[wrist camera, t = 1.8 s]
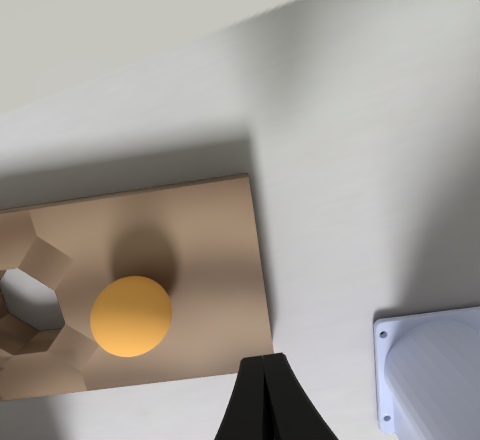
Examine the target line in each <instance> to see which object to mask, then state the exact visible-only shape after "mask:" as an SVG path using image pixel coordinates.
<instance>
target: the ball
mask: <svg viewBox="0 0 480 440" xmlns="http://www.w3.org/2000/svg"><path fill="white" fill-rule="evenodd" d="M171 320H172V305H171V301H170V298H169V296H168V294H167V292H166V291H165V290H164V288H163V287H162V286H161V285H160V284H158V283H157V282H155V281H154V280H152V279H149V278H146V277H142V276H129V277H124V278H121V279H118V280H116V281H114V282H113V283H111V284H110V285H108V286H107V287H106V288H105V289H104V290H103V291H102V292H101V293H100V294H99V296H98V297H97V299H96V300H95V302H94V304H93V307H92V311H91V315H90V326H91V331H92V334H93V336H94V338H95V340H96V342H97V343H98V344H99V345H100V346H101V347H102V348H103V349H104V350H105V351H107V352H109V353H111V354H113V355H116V356H121V357H133V356H138V355H141V354H144V353H146V352H148V351H150V350H151V349H153V348H154V347H155V346H156V345H158V344H159V343H160V342H161V340H162V339H163V338H164V337H165V335H166V333H167V331H168V329H169V327H170V324H171Z"/></svg>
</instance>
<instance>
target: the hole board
mask: <svg viewBox="0 0 480 440" xmlns="http://www.w3.org/2000/svg"><path fill="white" fill-rule="evenodd" d="M14 268H19V269H20V270H22V271H24V272H25V273H27V274H28V275H30V276H32V277H33V278H35V279H36V280H38V281H40V282H41V283H43V284H45V285H46V286H48V287H49V288H51V289H53V290H54V291H55V293H56V296H57V299H58V302H59V305H60V309H61V312H62V315H63V318H64V321H65V325H64V327H63V328H62V329H55V330H48V331H38V330H36V329H35V328H33V327H31V326H30V325H28V324H26V323H25V322H23V321H21V320H19V319H18V318H16V317H14V316H13V315H11V314H9V312H8V310H7V307H6V304H5V302H4V299H3V296H2V293H1V291H0V401H7V400H15V399H23V398H32V397H40V396H48V395H57V394H65V393H74V392H82V391H90V390H99V389H107V388H116V387H124V386H132V385H141V384H149V383H158V382H166V381H174V380H183V379H191V378H199V377H208V376H216V375H225V374H233V373H238V371H239V366H240V361H241V360H242V359H243V358H245V357H253V356H260V355H262V357H263V355H268V354H274V351H273V344H272V337H271V330H270V323H269V316H268V309H267V302H266V294H265V287H264V280H263V273H262V266H261V259H260V252H259V245H258V238H257V231H256V224H255V217H254V210H253V203H252V196H251V189H250V182H249V175H248V173H245V174H239V175H232V176H225V177H219V178H212V179H205V180H199V181H192V182H185V183H179V184H172V185H165V186H159V187H152V188H145V189H139V190H132V191H125V192H119V193H112V194H105V195H99V196H92V197H85V198H79V199H72V200H65V201H59V202H52V203H45V204H39V205H32V206H25V207H19V208H12V209H5V210H0V280H1V279H2V277H3V275H4V273H5V272H6V270H7V269H14ZM129 276H142V277H146V278H149V279H152V280H154V281H155V282H157V283H158V284H160V285H161V286H162V287H163V288H164V290H165V291H166V292H167V294H168V296H169V298H170V301H171V305H172V320H171V324H170V327H169V329H168V331H167V333H166V335H165V337H164V338H163V339H162V340H161V342H160V343H159V344H158V345H156V346H155V347H154V348H153V349H151V350H150V351H148V352H146V353H144V354H141V355H138V356H133V357H121V356H116V355H113V354H111V353H109V352H107V351H105V350H104V349H103V348H102V347H101V346H100V345H99V344H98V343H97V342H96V340H95V338H94V336H93V334H92V331H91V326H90V315H91V311H92V307H93V304H94V302H95V300H96V299H97V297H98V296H99V294H100V293H101V292H102V291H103V290H104V289H105V288H106V287H107V286H108V285H110V284H111V283H113V282H114V281H116V280H118V279H121V278H124V277H129Z"/></svg>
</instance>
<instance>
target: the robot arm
mask: <svg viewBox="0 0 480 440" xmlns="http://www.w3.org/2000/svg"><path fill="white" fill-rule="evenodd" d="M383 331H385V332H384V334H382V335H380V333H381V332H383ZM374 345H375V365H376V386H377V406H378V426H379V429H380V431H381V432H382V433H384V434H394V433H396V435H397V437H398V439H399V440H480V306H479V307H471V308H463V309H455V310H447V311H439V312H431V313H423V314H415V315H407V316H399V317H391V318H383V319H378V320H377V321H375V323H374ZM274 439H275V440H339V439H338V438H337V437H336V436H335V434H334V433H333V432H332V430H331V429H330V428H329V426H328V425H327V424H326V422H325V421H324V420H323V418H322V417H321V415H320V414H319V413H318V411H317V410H316V408H315V407H314V405H313V404H312V402H311V401H310V399H309V398H308V396H307V395H306V393H305V392H304V390H303V388H302V387H301V385H300V383H299V382H298V380H297V378H296V377H295V375H294V373H293V371H292V369H291V367H290V365H289V363H288V361H287V358H286V355H284V354H283V353H275V354H268V355H263V357H262V355H260V356H253V357H245V358H243V359H242V360H241V361H240V366H239V371H238V375H237V379H236V382H235V386H234V389H233V392H232V395H231V398H230V401H229V404H228V406H227V409H226V412H225V415H224V418H223V420H222V423H221V425H220V427H219V430H218V432H217V434H216V437H215V439H214V440H274Z"/></svg>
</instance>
